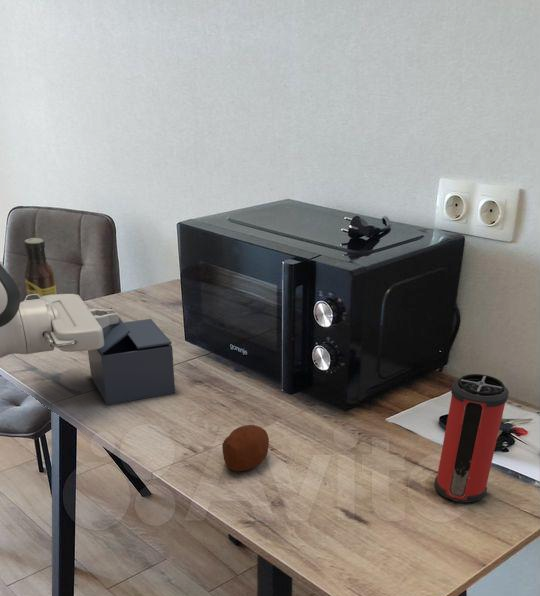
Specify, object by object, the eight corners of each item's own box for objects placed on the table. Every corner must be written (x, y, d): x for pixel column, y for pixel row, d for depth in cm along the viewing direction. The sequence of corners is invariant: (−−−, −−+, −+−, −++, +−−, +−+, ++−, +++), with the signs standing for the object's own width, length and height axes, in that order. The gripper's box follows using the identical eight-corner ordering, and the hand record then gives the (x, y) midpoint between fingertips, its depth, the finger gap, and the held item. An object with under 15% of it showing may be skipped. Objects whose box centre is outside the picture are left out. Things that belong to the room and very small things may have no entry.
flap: (102, 354, 123) (100, 352, 123) (85, 329, 133) (84, 327, 133) (130, 332, 124) (129, 330, 123) (112, 308, 133) (111, 307, 133)
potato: (209, 465, 112) (208, 429, 109) (252, 445, 118) (252, 410, 114) (239, 482, 108) (239, 446, 104) (281, 461, 114) (283, 425, 110)
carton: (107, 405, 129) (101, 352, 123) (91, 377, 139) (84, 327, 133) (175, 393, 133) (172, 342, 128) (154, 367, 143) (151, 318, 138)
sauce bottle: (31, 325, 161) (15, 237, 150) (58, 322, 163) (45, 234, 152) (35, 335, 156) (20, 244, 145) (64, 332, 158) (51, 242, 147)
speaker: (428, 496, 106) (448, 388, 96) (440, 472, 112) (459, 367, 102) (480, 509, 103) (505, 399, 93) (489, 483, 109) (513, 377, 99)
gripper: (46, 329, 113) (130, 317, 118) (26, 291, 129) (101, 282, 134) (52, 365, 117) (133, 353, 122) (32, 324, 132) (105, 314, 137)
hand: (116, 316), depth 128 cm, fingers closed, pressing on flap
